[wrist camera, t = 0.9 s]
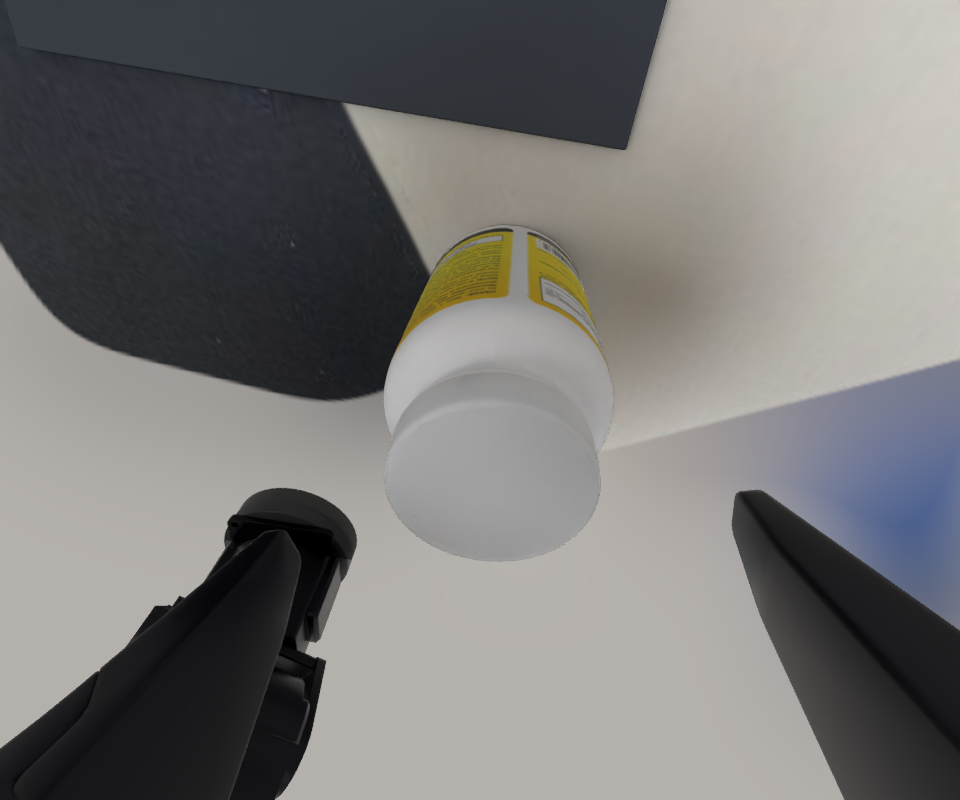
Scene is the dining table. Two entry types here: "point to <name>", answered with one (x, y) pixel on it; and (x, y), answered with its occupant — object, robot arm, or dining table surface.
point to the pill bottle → (498, 401)
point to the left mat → (386, 53)
